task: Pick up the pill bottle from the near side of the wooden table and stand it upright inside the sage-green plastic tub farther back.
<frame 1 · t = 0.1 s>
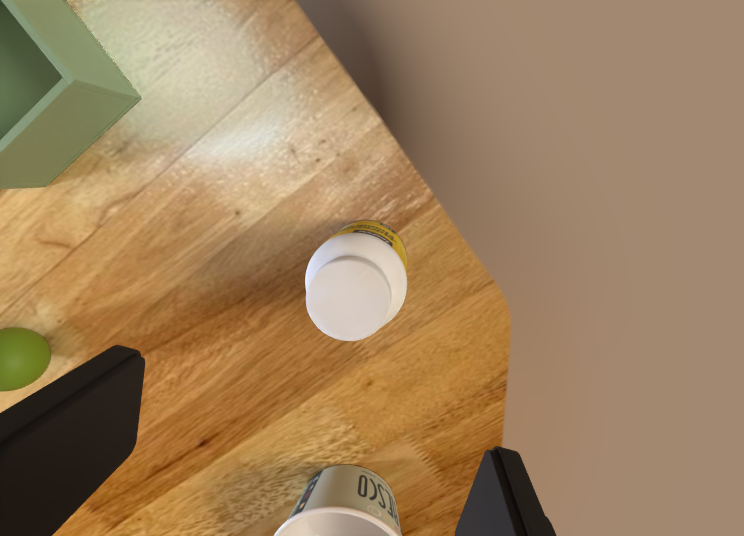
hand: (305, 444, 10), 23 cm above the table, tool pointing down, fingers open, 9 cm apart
food container: (349, 503, 39), on the table
pill bottle: (367, 257, 33), on the table
snail figurine: (43, 341, 37), on the table
tub: (41, 82, 31), on the table
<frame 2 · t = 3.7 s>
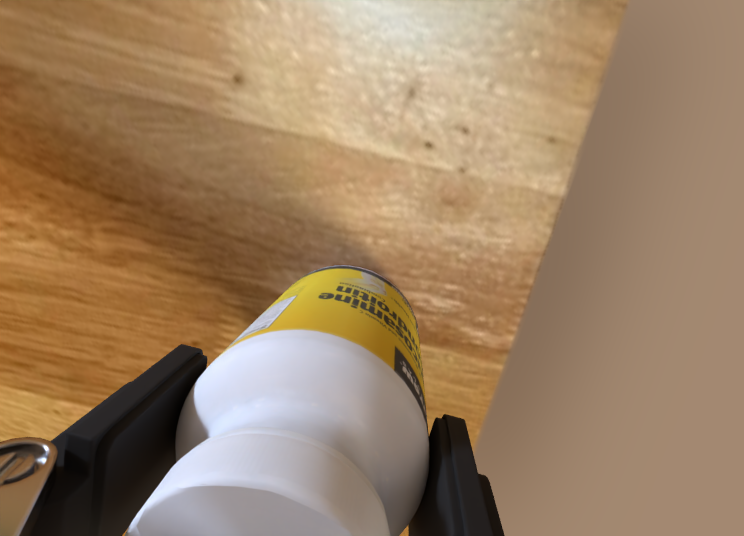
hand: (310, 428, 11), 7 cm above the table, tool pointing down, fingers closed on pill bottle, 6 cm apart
pill bottle: (347, 328, 18), on the table, touching gripper
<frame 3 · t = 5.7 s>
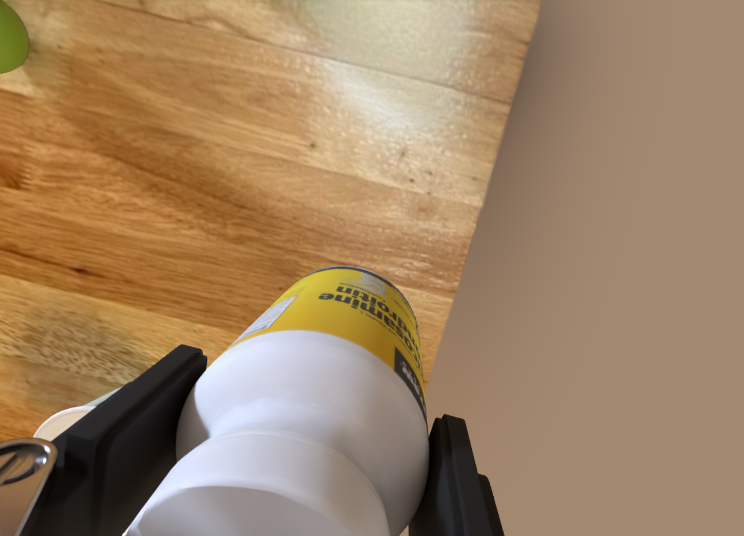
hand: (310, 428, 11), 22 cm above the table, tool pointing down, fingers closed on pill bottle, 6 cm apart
food container: (153, 423, 37), on the table
pill bottle: (347, 329, 18), point 14 cm above the table, touching gripper
snail figurine: (23, 44, 30), on the table
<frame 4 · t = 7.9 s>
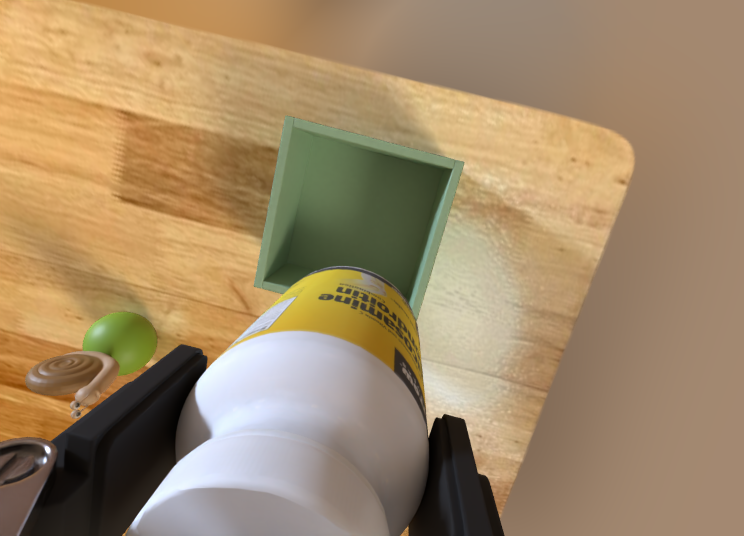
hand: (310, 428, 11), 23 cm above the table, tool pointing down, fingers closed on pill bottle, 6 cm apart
pill bottle: (347, 329, 18), point 16 cm above the table, touching gripper
snail figurine: (148, 331, 37), on the table
tub: (362, 217, 33), on the table
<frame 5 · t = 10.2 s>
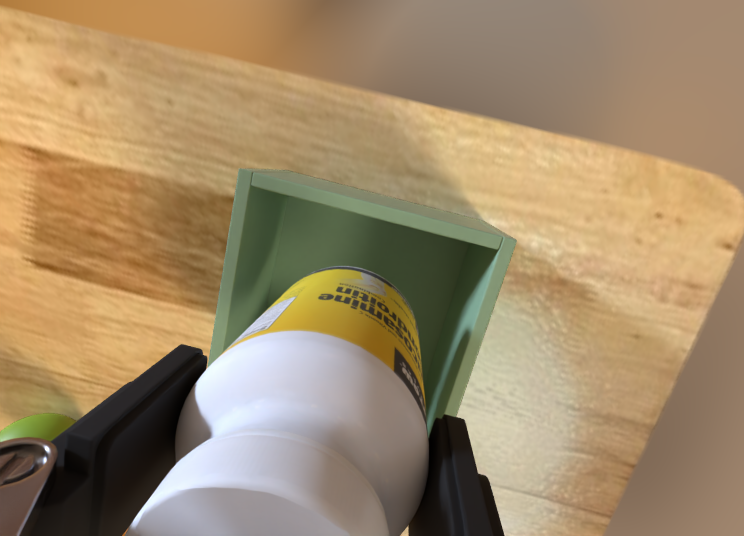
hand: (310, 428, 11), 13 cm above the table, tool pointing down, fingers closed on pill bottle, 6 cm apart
pill bottle: (347, 329, 18), point 6 cm above the table, touching gripper
snail figurine: (80, 430, 28), on the table
tub: (360, 291, 24), on the table
when the fingers open (8 cm above the table, at t = 12.1 s): pill bottle stays where it is, resting on tub.
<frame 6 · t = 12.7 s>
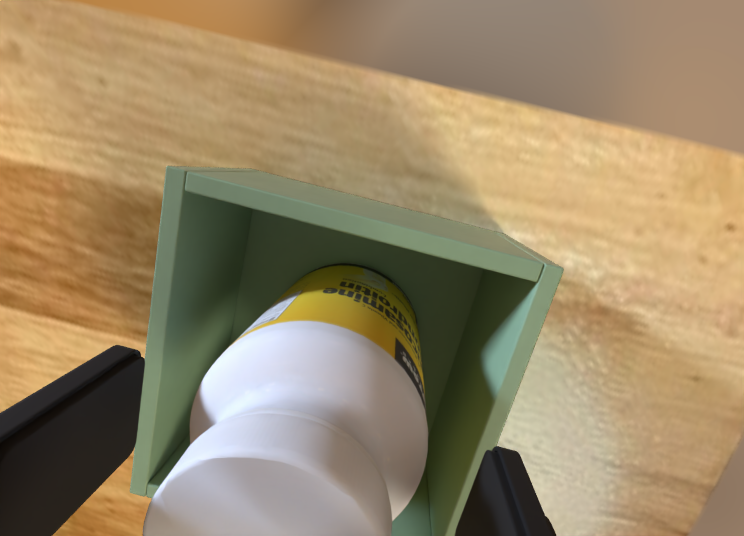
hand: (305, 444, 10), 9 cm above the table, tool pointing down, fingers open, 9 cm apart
pill bottle: (349, 324, 19), resting on tub
tub: (348, 321, 19), on the table
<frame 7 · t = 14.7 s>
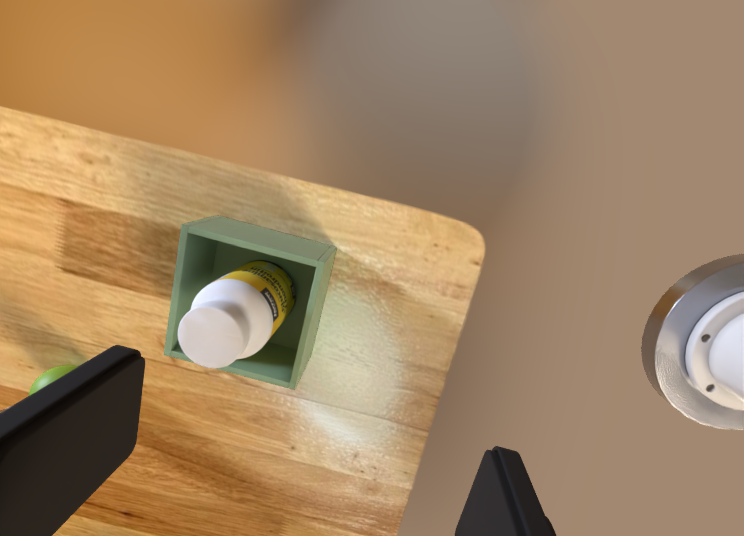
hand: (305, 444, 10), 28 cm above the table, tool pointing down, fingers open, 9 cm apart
pill bottle: (266, 289, 39), resting on tub
snail figurine: (90, 378, 43), on the table
tub: (266, 288, 39), on the table
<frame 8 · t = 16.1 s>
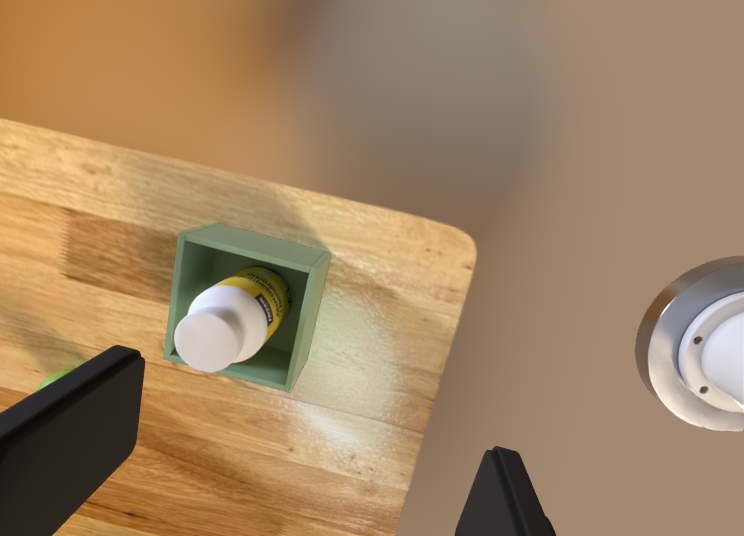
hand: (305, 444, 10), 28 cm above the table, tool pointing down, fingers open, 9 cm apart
pill bottle: (263, 294, 39), resting on tub
tub: (263, 293, 40), on the table
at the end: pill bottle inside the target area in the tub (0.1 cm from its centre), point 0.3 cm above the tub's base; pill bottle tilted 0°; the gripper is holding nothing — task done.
